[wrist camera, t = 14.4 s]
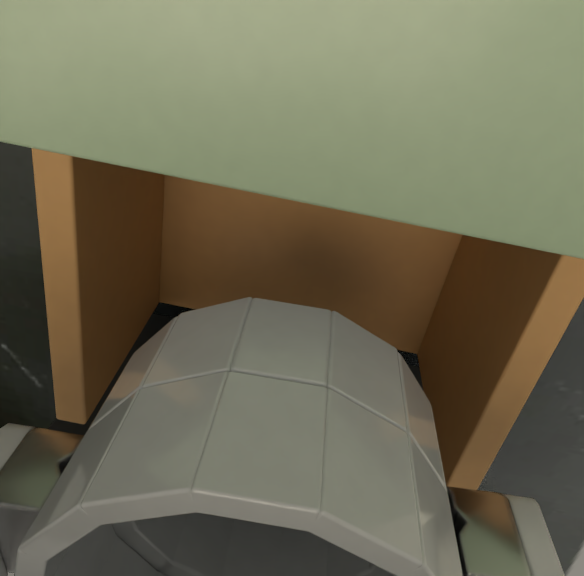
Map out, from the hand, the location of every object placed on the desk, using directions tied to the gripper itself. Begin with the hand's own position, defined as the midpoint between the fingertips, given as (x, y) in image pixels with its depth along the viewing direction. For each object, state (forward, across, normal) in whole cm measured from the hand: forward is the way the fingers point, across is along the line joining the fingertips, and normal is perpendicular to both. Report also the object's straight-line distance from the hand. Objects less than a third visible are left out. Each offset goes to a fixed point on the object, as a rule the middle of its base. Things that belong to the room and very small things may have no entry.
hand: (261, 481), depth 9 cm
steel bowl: (+2, 0, 0) cm, 2 cm away
